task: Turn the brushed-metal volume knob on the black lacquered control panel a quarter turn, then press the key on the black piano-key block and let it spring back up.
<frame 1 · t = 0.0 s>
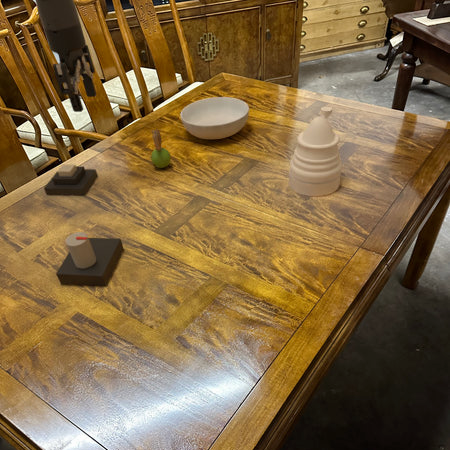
hand: (85, 103, 98), 22 cm above the table, tool pointing down, fingers open, 8 cm apart
key block: (73, 185, 115), on the table
serving bowl: (216, 133, 131), on the table
green ball with handle: (162, 168, 118), on the table
control panel: (93, 266, 90), on the table
volume knob: (81, 249, 85), point 6 cm above the table, hinge at 0.0°
honey pot: (313, 183, 107), on the table
key: (67, 170, 111), point 4 cm above the table, slide at 0.1 cm
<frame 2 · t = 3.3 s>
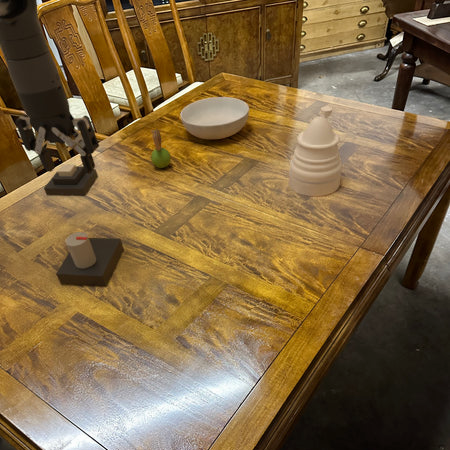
hand: (70, 170, 82), 19 cm above the table, tool pointing down, fingers open, 8 cm apart
nothing on the table moved.
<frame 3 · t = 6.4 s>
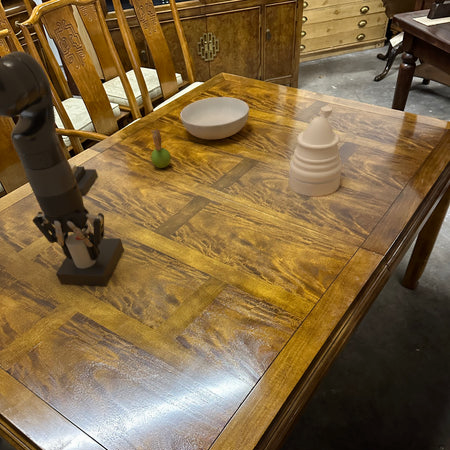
hand: (84, 256, 86), 4 cm above the table, tool pointing down, fingers closed on volume knob, 4 cm apart
volume knob: (81, 249, 85), point 6 cm above the table, hinge at 0.0°, touching gripper
everything else where it was.
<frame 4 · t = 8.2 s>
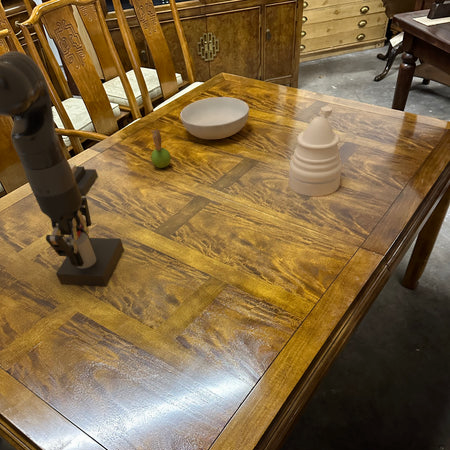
hand: (83, 256, 86), 4 cm above the table, tool pointing down, fingers closed on volume knob, 4 cm apart
volume knob: (81, 249, 85), point 6 cm above the table, hinge at 93.7°, touching gripper
everything else where it was.
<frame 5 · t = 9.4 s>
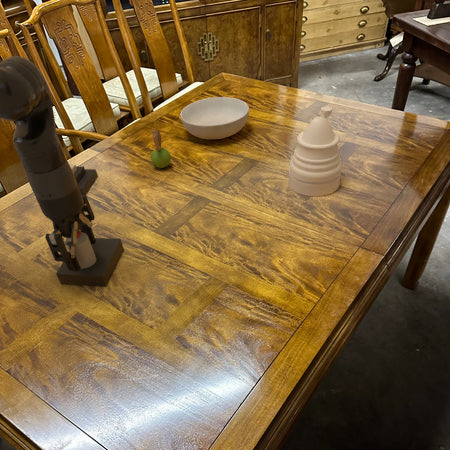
hand: (83, 256, 86), 4 cm above the table, tool pointing down, fingers open, 8 cm apart
volume knob: (81, 249, 85), point 6 cm above the table, hinge at 93.1°
everything else where it was.
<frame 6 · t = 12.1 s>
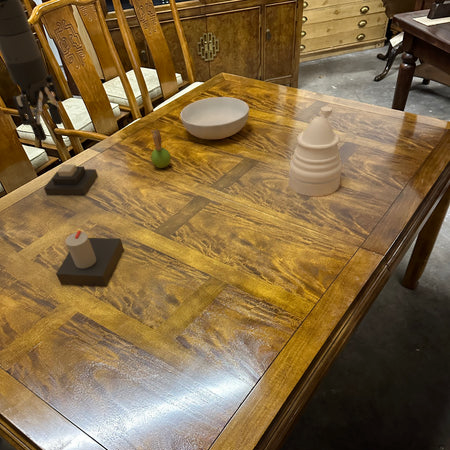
hand: (50, 131, 99), 17 cm above the table, tool pointing down, fingers open, 8 cm apart
nothing on the table moved.
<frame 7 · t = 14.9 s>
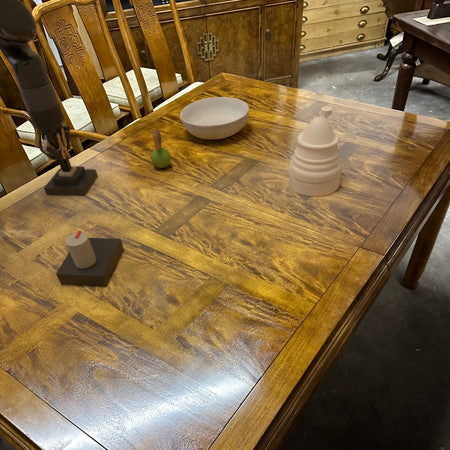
hand: (67, 170, 111), 5 cm above the table, tool pointing down, fingers closed
key: (68, 172, 112), point 4 cm above the table, slide at -0.5 cm, touching gripper
everything else where it was.
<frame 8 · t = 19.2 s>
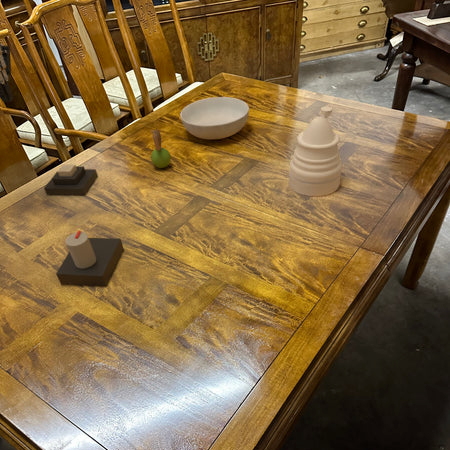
hand: (8, 100, 93), 25 cm above the table, tool pointing down, fingers closed
key: (67, 170, 111), point 4 cm above the table, slide at 0.1 cm
everything else where it was.
at the end: volume knob at +93° (first picture: +0°); key pushed in 1.1 cm at the most during the clip, back to where it started at the end; key slide at 0.1 cm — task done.
